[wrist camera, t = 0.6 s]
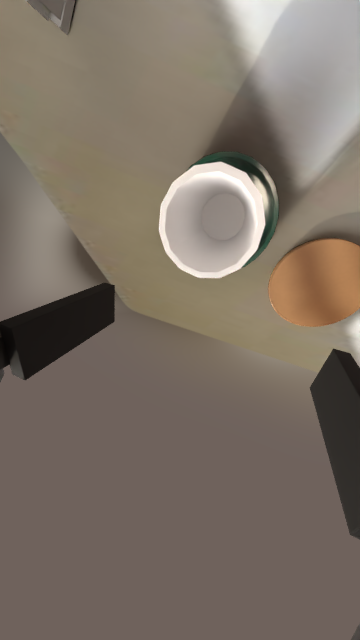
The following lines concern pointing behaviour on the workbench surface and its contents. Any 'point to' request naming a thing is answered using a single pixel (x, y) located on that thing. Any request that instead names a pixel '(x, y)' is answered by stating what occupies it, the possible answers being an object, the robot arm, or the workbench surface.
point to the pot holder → (317, 282)
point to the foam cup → (211, 220)
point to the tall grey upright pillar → (55, 11)
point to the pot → (261, 182)
